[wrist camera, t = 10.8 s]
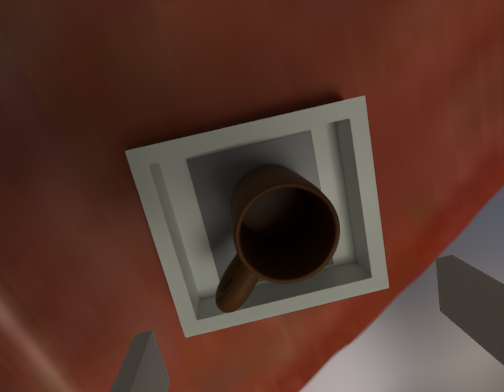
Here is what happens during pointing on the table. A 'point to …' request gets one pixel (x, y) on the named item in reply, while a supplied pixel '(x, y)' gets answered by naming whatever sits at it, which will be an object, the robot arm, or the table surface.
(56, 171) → the table surface
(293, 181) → the mug
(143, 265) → the table surface
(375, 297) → the table surface
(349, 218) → the tray
